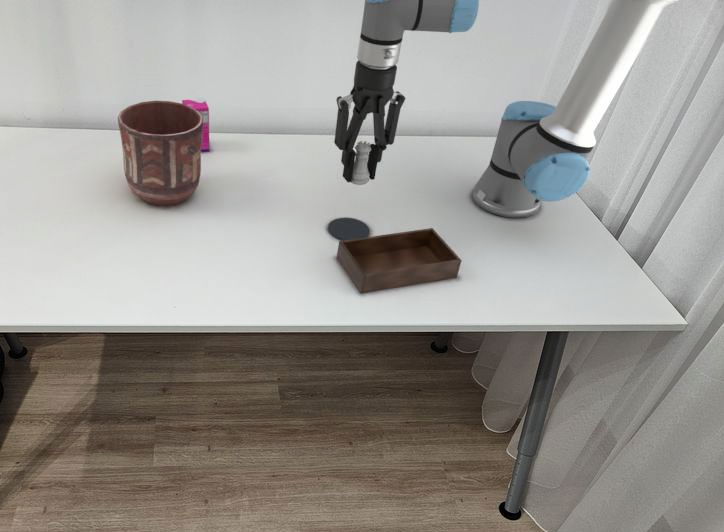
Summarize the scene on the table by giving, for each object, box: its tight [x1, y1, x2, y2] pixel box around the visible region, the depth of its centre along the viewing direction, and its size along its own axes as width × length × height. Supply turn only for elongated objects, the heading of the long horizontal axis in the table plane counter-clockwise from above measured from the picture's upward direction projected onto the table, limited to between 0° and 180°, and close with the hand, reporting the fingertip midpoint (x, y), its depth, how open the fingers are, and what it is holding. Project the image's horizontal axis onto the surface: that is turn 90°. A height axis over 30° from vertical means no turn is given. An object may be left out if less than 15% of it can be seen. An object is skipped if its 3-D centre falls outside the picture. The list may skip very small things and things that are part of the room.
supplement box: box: [181, 97, 210, 153], centre depth 179 cm, size 6×6×12 cm
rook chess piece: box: [350, 140, 371, 186], centre depth 146 cm, size 4×4×8 cm
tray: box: [335, 227, 462, 295], centre depth 146 cm, size 21×12×4 cm, turn 108°
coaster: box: [327, 217, 371, 241], centre depth 157 cm, size 9×9×1 cm
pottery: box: [117, 100, 203, 207], centre depth 159 cm, size 18×18×18 cm
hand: (358, 177), depth 148 cm, fingers closed on rook chess piece, 4 cm apart
